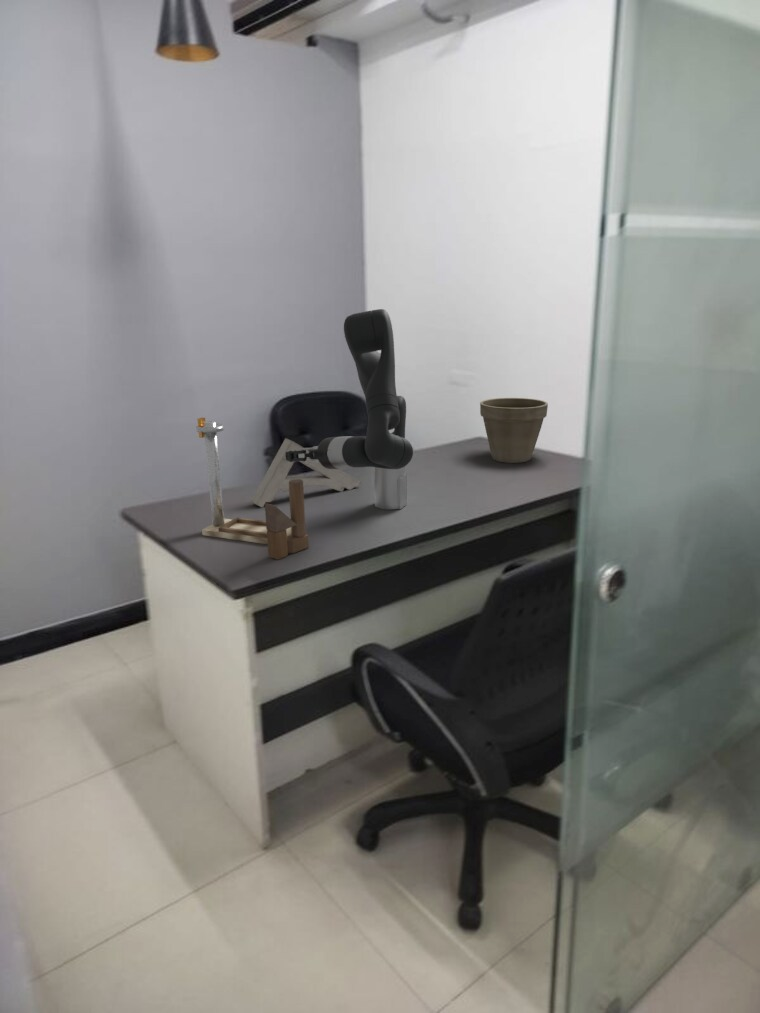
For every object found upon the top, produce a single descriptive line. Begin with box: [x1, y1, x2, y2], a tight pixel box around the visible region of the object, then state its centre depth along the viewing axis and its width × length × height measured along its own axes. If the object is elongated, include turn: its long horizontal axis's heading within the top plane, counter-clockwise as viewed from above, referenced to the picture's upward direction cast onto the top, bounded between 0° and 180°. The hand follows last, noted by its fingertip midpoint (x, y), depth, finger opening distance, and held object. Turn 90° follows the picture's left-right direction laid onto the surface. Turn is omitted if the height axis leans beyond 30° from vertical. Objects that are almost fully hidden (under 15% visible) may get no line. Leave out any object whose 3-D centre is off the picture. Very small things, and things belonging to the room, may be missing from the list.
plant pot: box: [479, 397, 549, 464], centre depth 257 cm, size 25×25×22 cm
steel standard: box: [196, 417, 225, 527], centre depth 183 cm, size 7×7×31 cm
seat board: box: [201, 517, 292, 545], centre depth 184 cm, size 24×10×2 cm, turn 69°
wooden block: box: [264, 479, 310, 561], centre depth 169 cm, size 4×11×18 cm, turn 139°
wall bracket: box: [250, 437, 362, 509], centre depth 217 cm, size 22×4×30 cm
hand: (301, 454), depth 171 cm, fingers open, 8 cm apart
